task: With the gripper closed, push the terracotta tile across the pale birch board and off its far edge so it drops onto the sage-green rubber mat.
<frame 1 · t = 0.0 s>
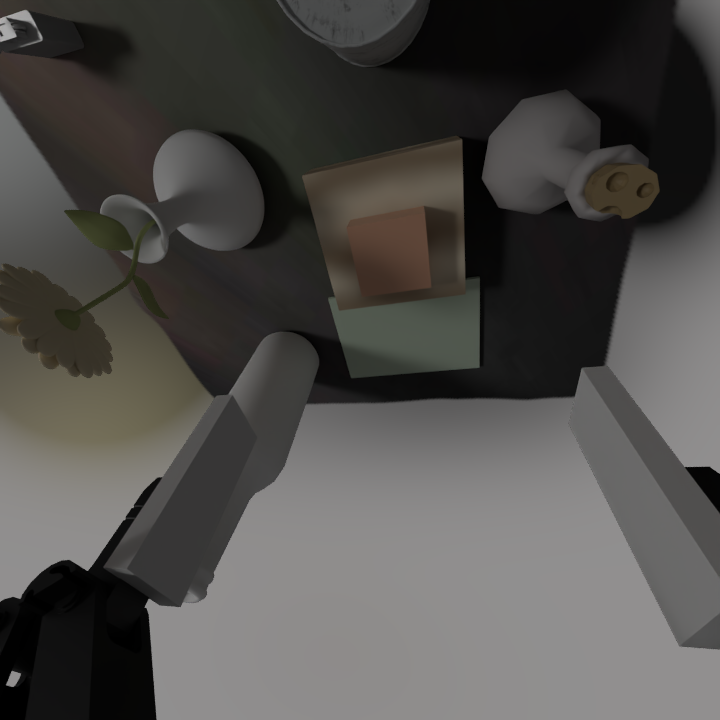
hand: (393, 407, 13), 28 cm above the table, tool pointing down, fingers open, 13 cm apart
alcohol: (291, 353, 48), on the table
potion bottle: (526, 151, 31), on the table
birch board: (391, 227, 36), on the table
lighter: (48, 44, 30), on the table
flower in vase: (220, 200, 36), on the table
terracotta tile: (391, 249, 33), point 4 cm above the table, touching birch board
rubber mat: (407, 332, 44), on the table
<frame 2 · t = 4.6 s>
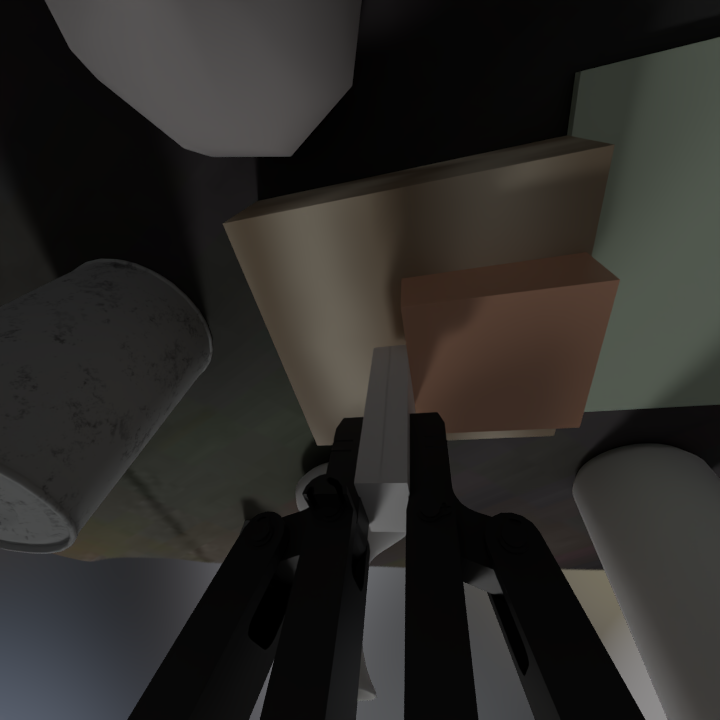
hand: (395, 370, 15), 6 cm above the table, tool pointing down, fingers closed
alcohol: (629, 473, 26), on the table
potion bottle: (257, 15, 13), on the table
birch board: (413, 306, 19), on the table
flower in vase: (369, 484, 31), on the table
white cylinder: (144, 325, 23), on the table
terracotta tile: (487, 338, 15), point 4 cm above the table, touching birch board, gripper
rubber mat: (689, 272, 16), on the table
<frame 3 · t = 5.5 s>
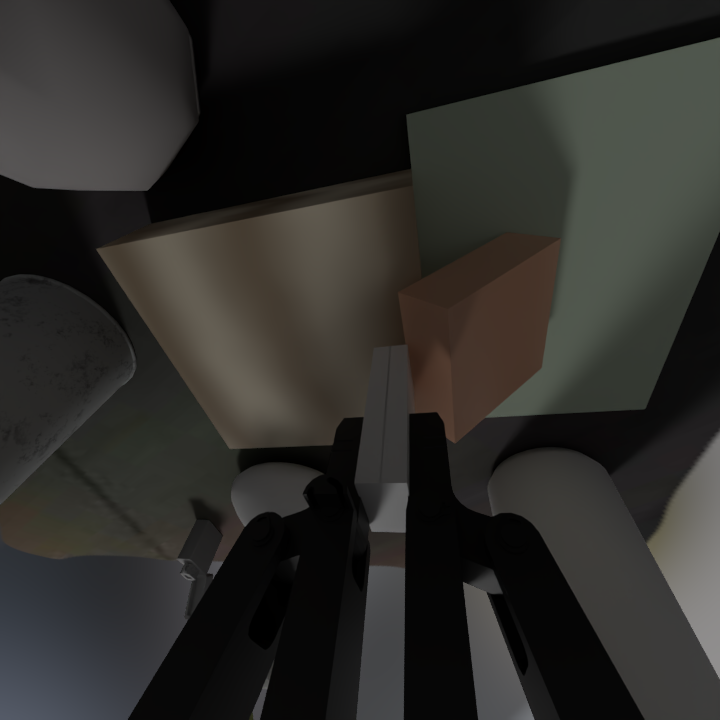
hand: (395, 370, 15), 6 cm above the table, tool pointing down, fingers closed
alcohol: (541, 475, 27), on the table
potion bottle: (121, 62, 14), on the table
birch board: (309, 320, 21), on the table
lighter: (215, 532, 41), on the table
flower in vase: (305, 485, 32), on the table
white cylinder: (71, 335, 24), on the table
terracotta tile: (459, 328, 16), point 3 cm above the table, tilted 44°, touching gripper, rubber mat
rubber mat: (548, 290, 18), on the table
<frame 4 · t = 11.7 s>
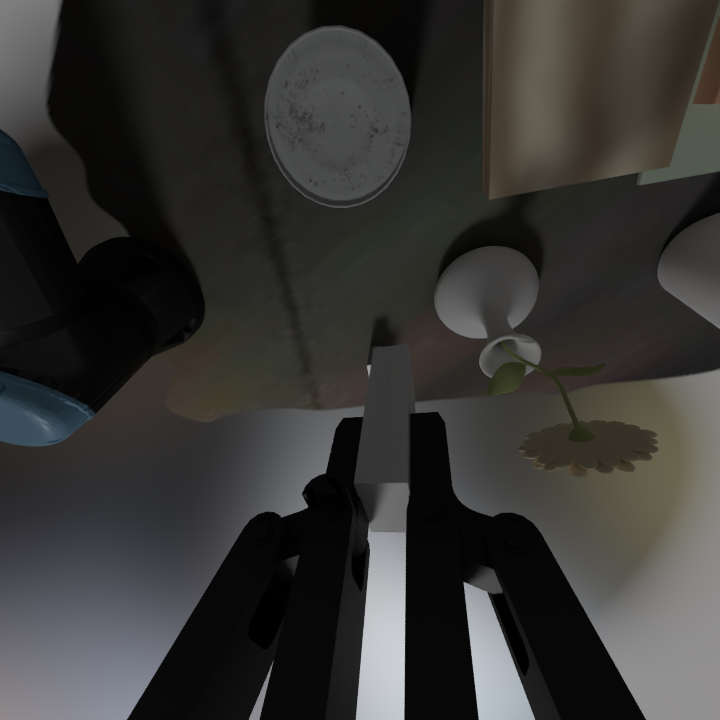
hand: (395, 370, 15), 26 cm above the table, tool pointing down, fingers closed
alcohol: (701, 252, 35), on the table
birch board: (570, 83, 28), on the table
lighter: (379, 364, 49), on the table
flower in vase: (489, 288, 40), on the table
white cylinder: (359, 121, 31), on the table
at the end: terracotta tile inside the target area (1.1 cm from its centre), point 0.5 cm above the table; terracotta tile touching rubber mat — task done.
